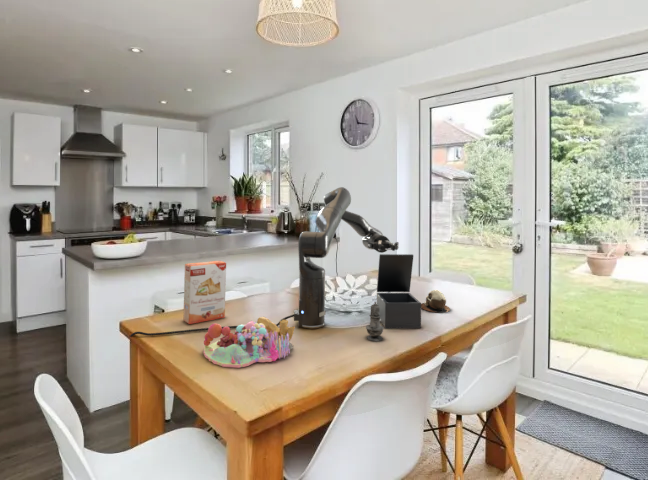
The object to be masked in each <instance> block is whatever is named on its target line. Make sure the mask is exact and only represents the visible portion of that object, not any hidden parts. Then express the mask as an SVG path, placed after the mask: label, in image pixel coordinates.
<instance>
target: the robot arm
mask: <svg viewBox="0 0 648 480" xmlns="http://www.w3.org/2000/svg"><path fill="white" fill-rule="evenodd" d="M323 202H324V206H323V207H322V208H321V209H320V211H319V212H318V214H317V216H316V219H315V225H316V227H317V229H318V231H302V232H301V233H300V234H299V237H298V241H297V242H298V243H297V247H298V248H297V250H298V274H299V275H298V277H299V279H298V309H293V314H290V315H288V316H285V317H283V318H281V319H280V320H279V321H278V322H277V323H275V324H276V326H277V327H279V325H280V321H282V320H288V319H291V318H293V322H297V324H298V325H297V326H298V328H304V329H308V330H309V329H311V330H313V329H314V330H315V329H320V328H323V327H324V326H326V325H325V323H326V322H325V320H326V319H325V316H326V314H327V313H326V310H325V307H326V270H325V268H324V267H322V266H320V265H318V264H316V263H314V262H313V261H312V260H311V259H323V258H326V257H327V256H328V254H329V252H330V250H331V246H332V244H333V239H334V236H335V234H336V232H337V229H338V228H339V225H340V223H341V221H343V222H345V223H346V224H347V225H349V226H350V227H351V228H352V229H353V230H354V232H356V233H357V235H359V236H360V237H363V238H362V240H361V243H362V245H363V246H364V247H365V248H366V249H368V250H375V252H377V253H380V254H384V253H386V252H387V251H393V252H395V251H398V250H399V248H400V247H399V244H400V243H399V242H398V241H395V242H392V241H390V239H389V237H387V236H386V235H384V234H383V232H382V231H381V230H379V229H378V228H376V227H374V226H372V225H371V224H370V223H369V222H368V221H367V220H366V219H365V218H364V217H363V216H362V215H360V214H358V213H355V212H351V211H350V210H349V211H348V208H349V206H350V205H351V203H352V196H351V193H350V191H349V190H348V188H346V187H345V186H344V187H343V186H340V187H337V188H335V189H333V190H332V191H329V192H328V193H326V194H325V195H324V196H323ZM237 326H238V325H225V326H221V327H222V329H223V328H224V327H229V328H230V329H236V328H237ZM208 328H209V327H202V328H201V327H200V328H192V329H183V330H173V331H172V330H171V331H163V332H143V331H134V332H133V333H131V334H130V335H129V337H134V336H135V335H143V336H146V337H147V336H163V335H172V334H173V335H174V334H182V333H183V334H184V333H193V332H200V331H202V332H203V331H208Z"/></svg>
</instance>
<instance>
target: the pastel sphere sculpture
mask: <svg viewBox="0 0 648 480" xmlns="http://www.w3.org/2000/svg"><path fill="white" fill-rule="evenodd" d="M281 320H282V319H281ZM279 321H280V320H279ZM276 324H277V323H274V322H272V321H271V320H270V319H269V318H267V317H265V316H260V317H258V318H257V320H256V321H253V320H250V321H248V322H247V323H246V324H238V325H236V326H237V328H235V330H234V333H233V332H232V330H231V328H229V327H225V326H222V325H221V324H219V323H215V322H214V323H212V324H210V325H209V327H207V328H208V330H207V332H206V333H205V334H204V340H203V345H204V348H203V356H204V358H206V359H208V361H209V362H212V364H214V365H217V366H220V367H223V368H240V369H241V368H246V367H249V366H250V365H253V364H254V363H266V362H267V363H271V362H276V361H277V360H278V359H279V360H281V359H286V356H287V357H288V355H290V353H291V350H292V349H293V348H294V345H293V342H290V341H291V340H292V337H293V335H294V334H295V333H294V332H295V327H296V326H289V320H288V319H286V320H282V321H280V325H278V326H276ZM222 327H224V328H223V329H222ZM221 336H222V337H221ZM218 338H220V339H219V340H217V341H214V342H212V341H213V340H214V339H218ZM211 342H212V343H211Z"/></svg>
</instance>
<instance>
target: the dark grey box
mask: <svg viewBox="0 0 648 480" xmlns="http://www.w3.org/2000/svg"><path fill="white" fill-rule="evenodd" d="M376 304H377V305H379V307H380V314H379V315H380V316H381V317H380V324H381V326H383V327H384V329H421V328H422V308H421V304H422V302H420V300H418V298H416V297H415V296H414V295H413V294H411V293H410V292H376Z"/></svg>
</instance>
